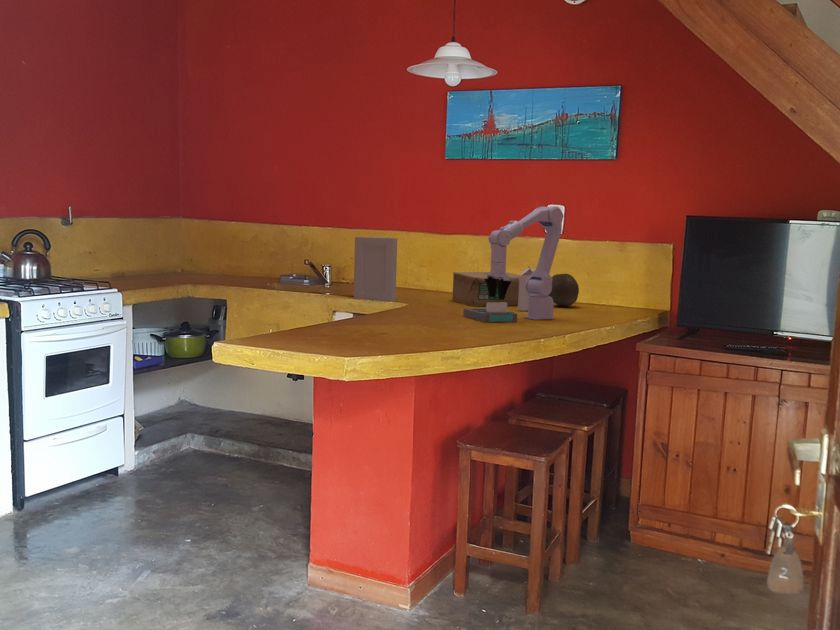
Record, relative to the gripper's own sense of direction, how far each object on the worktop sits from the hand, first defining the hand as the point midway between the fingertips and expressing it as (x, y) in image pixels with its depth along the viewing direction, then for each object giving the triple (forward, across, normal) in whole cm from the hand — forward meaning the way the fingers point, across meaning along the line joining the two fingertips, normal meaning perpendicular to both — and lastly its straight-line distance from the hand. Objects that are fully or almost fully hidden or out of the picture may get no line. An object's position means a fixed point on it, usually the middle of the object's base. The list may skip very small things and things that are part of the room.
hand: (496, 297), depth 310 cm
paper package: (+9, -54, +25) cm, 61 cm away
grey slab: (+9, 0, 0) cm, 9 cm away
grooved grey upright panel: (+9, -79, -19) cm, 82 cm away
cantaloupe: (+9, -38, +54) cm, 67 cm away
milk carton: (+9, -28, +30) cm, 42 cm away
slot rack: (+9, -5, 0) cm, 10 cm away
